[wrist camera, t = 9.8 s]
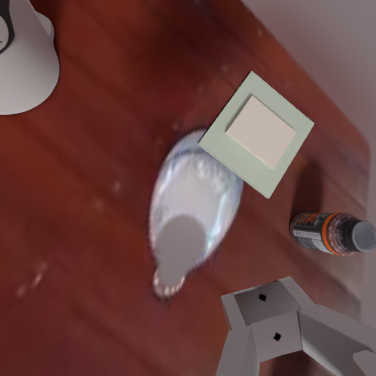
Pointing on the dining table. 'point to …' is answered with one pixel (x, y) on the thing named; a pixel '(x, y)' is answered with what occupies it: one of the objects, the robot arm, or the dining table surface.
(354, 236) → the supplement bottle
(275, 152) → the tile
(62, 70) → the dining table surface
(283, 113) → the mat
